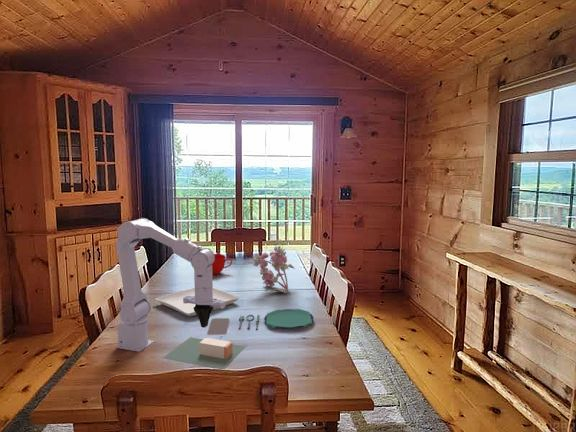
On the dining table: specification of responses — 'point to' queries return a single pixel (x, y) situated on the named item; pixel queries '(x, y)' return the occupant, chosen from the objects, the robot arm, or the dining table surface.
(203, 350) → the cream block
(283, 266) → the flower
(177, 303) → the square plate
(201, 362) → the green mat
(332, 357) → the dining table surface
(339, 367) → the dining table surface
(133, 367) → the dining table surface
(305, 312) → the cutlery set
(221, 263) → the ceramic cup
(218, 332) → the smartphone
